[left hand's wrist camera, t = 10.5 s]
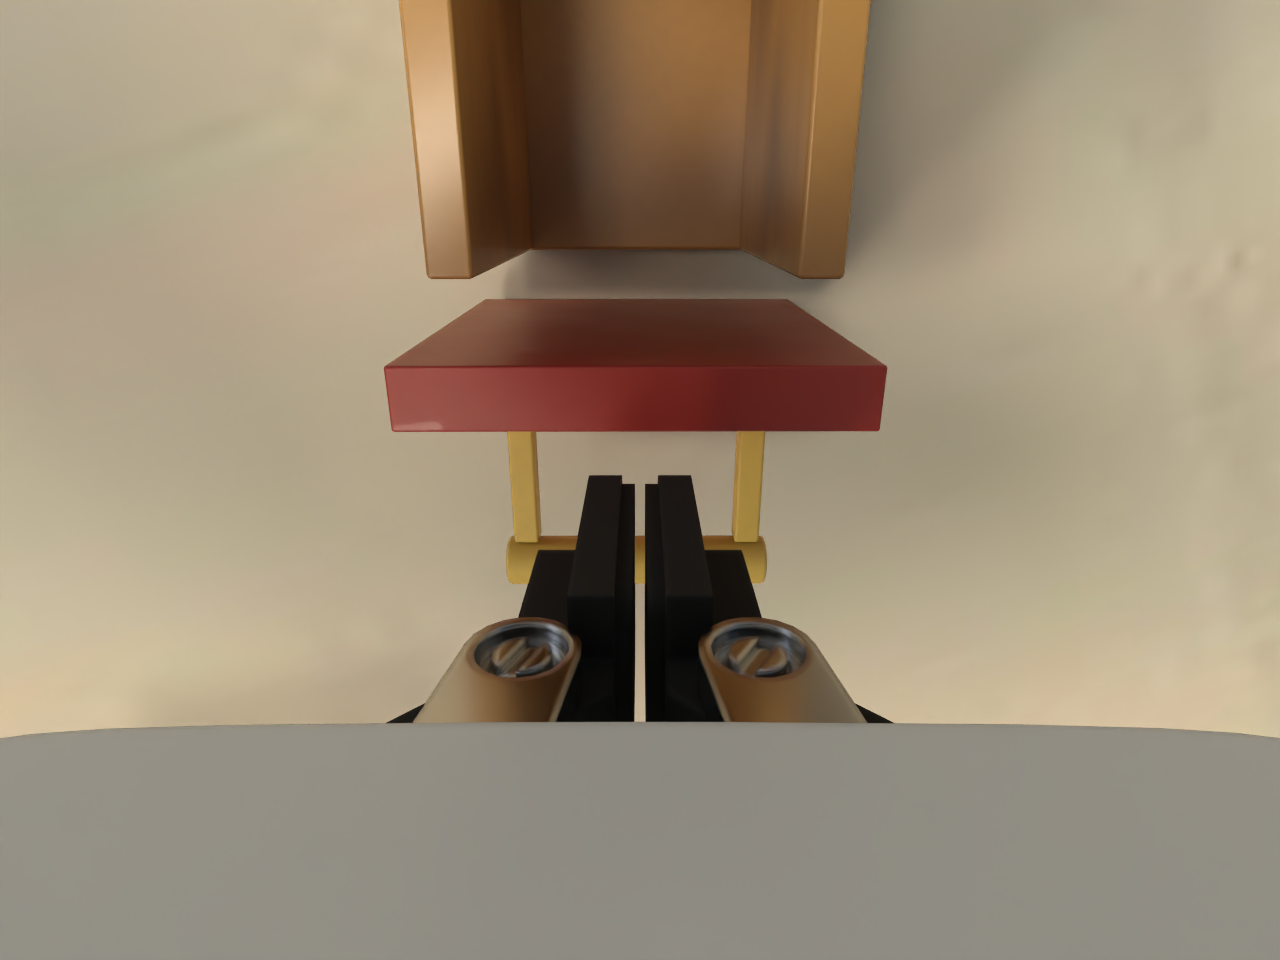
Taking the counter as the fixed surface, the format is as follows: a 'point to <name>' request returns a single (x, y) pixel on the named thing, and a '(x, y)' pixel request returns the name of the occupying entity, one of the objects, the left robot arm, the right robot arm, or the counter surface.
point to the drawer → (635, 225)
